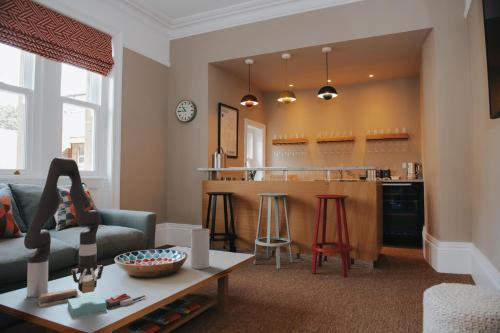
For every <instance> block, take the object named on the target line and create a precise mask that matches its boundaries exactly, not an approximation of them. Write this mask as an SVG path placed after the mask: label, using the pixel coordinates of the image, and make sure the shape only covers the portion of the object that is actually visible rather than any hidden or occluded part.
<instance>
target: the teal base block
mask: <svg viewBox="0 0 500 333" xmlns="http://www.w3.org/2000/svg"><path fill="white" fill-rule="evenodd" d="M105 300H106V299H104V298H103V296H102V295H101V294H100V293H98V294H96V293H95V294H91V295H86V296H81V297H80V298H74V299H68V302H67V308H68V310H69V312H70V315H71V317H72V318H75V317H79V316H83V315H84V316H85V315H89V314H95V313H100V312H103V311H107V307H106V301H105Z"/></svg>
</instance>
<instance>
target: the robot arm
mask: <svg viewBox="0 0 500 333" xmlns="http://www.w3.org/2000/svg"><path fill="white" fill-rule="evenodd" d="M60 177H68V178H69V180H70V181H71V186H70V189H69V198H70V199H69V200H71V203H72V205H73V207H74V217H75V218H74V219H75V222H76V224H77V225H78V226H79V227H80V226H81V227H87V228H86V229H85V230H82V231H81V232H80V234H79V248H78V266H77V268H71V270H70V271H71V275H72V279H73V281H74V283H77V289H78V291H79V292H81V291H82V280H83V278H84V276H86V275H92V278H93V279H94V281H95V282H94V290H95V289H96V288H97V282H98V280H100V279H101V278H102V274H103V271H104V266H103V264H100V265H99V264H98V263H97V257H98V255H97V251H98V250H97V233H98V231H99V230H98V229H99V227H100V222H101V214H100V212H99V211H98V210H97V209H92V210H91V209H90V210H87V209H88V208H89V207H90V205H91V201H90V200H89V197H88V196H87V193H86V191H85V189H84V186H83V182H82V177H81V174H80V170H79V167H78V164H77V161H76V160H75V159H73V158H71V157H70V158H69V157H59V156H58V157H54V158H52V160H51V161H50V165H49V167H48V172H47V175H46V181H45V184H44V187H43V190H42V193H41V195H40V198H39V200H38V204H37V208H36V211H35V212H34V216H33V218H32V219H31V220H32V221H31V222H30V224H29V227H28V229H27V231H26V233H25V235H24V238H23V239H24V240H23V245H24V247H25V249H27V250H35V251H34V252H33V253H31V255H29V256H28V257H27V276H26V277H27V279H26V285H27V287H26V289H27V290H26V296H27V297H28V298H38V297H39V295H40V294H45V293H49V257H50V254H51V243H52V238H51V233H50V231H49V230H48V229H43V228H44V227H45V225H46V224H47V223H48V222H49V221H50V220H51V219H53V217H54V216H55V215H56V214H57V212H58V210H59V207H60V205H61V202H62V199H61V194H60V191H59V188H58V181H59V179H60ZM96 270H97V275H96V273H95V271H96ZM78 272H79V273H80V274H79V277H77V274H78Z"/></svg>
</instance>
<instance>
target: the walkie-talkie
mask: <svg viewBox="0 0 500 333" xmlns="http://www.w3.org/2000/svg"><path fill="white" fill-rule="evenodd" d="M145 297H146V295H141V296H138V297H135V298H132V297H131V295H128V294H127V293H125V292H121V293H118V294H116V295H114V296H110V298H107V299H104V300H105V301H106V309H113V308H117V307H119V306H121V307H123V306H128V305H130V304H133V303H134V302H135V301H138V300H141V299H142V298H145Z"/></svg>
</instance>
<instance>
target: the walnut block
mask: <svg viewBox="0 0 500 333" xmlns="http://www.w3.org/2000/svg"><path fill="white" fill-rule="evenodd" d="M94 282H95V281H94V279H93V278H89V279H83V280H82V291H80V292H81V293H82V294H86V293H93V292H95V289H94Z"/></svg>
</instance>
